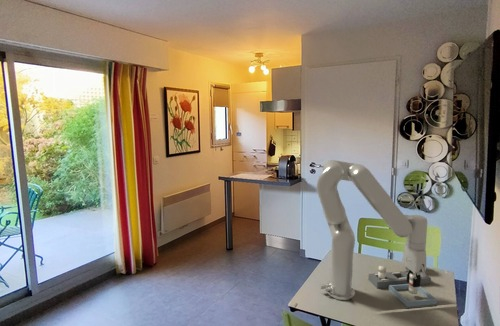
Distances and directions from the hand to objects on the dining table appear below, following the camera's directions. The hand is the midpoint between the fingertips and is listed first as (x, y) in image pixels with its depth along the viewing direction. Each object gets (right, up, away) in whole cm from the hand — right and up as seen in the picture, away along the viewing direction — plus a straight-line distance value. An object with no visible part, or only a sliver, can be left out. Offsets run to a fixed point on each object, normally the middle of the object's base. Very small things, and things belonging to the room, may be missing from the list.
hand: (413, 284), depth 140 cm
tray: (0, -7, +1) cm, 7 cm away
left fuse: (-9, -4, +12) cm, 16 cm away
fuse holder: (0, -5, +14) cm, 14 cm away
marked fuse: (0, -4, +1) cm, 4 cm away
